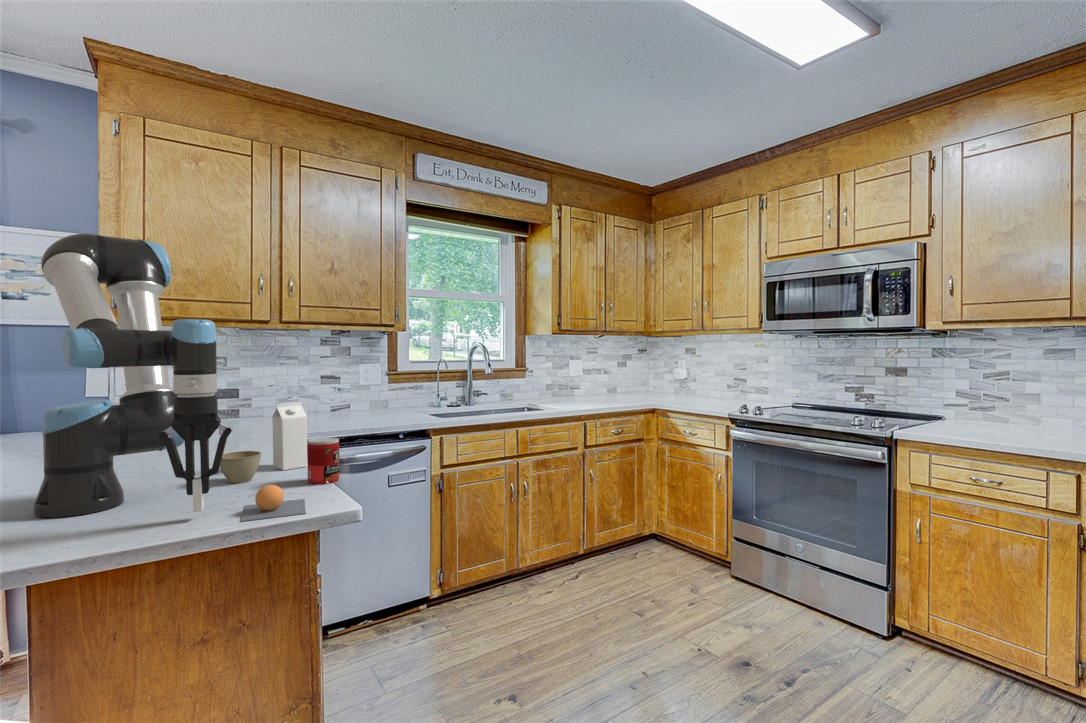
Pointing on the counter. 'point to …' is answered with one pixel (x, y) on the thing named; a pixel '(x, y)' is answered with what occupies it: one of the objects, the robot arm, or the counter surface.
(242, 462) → the olive green bowl
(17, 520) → the counter surface
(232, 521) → the counter surface
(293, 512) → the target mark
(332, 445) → the canned food
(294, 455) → the milk carton
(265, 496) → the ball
